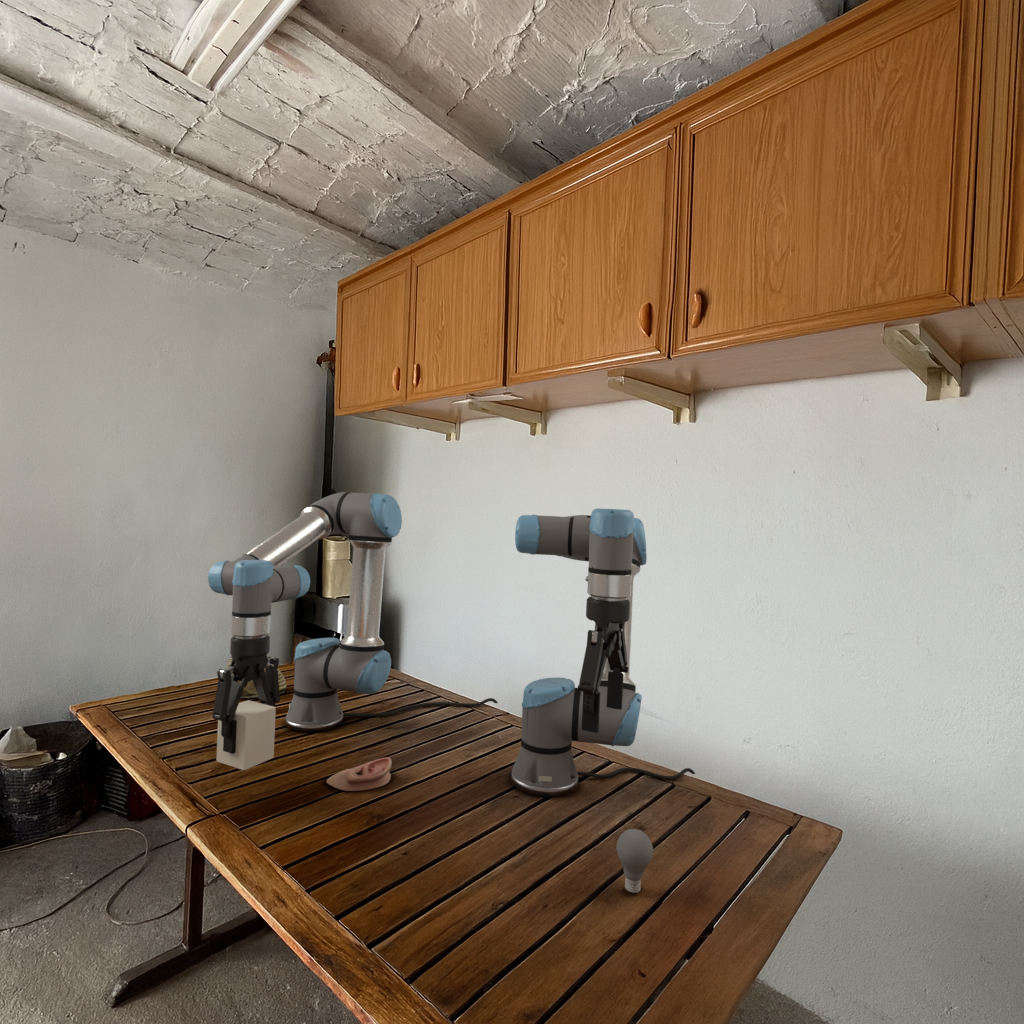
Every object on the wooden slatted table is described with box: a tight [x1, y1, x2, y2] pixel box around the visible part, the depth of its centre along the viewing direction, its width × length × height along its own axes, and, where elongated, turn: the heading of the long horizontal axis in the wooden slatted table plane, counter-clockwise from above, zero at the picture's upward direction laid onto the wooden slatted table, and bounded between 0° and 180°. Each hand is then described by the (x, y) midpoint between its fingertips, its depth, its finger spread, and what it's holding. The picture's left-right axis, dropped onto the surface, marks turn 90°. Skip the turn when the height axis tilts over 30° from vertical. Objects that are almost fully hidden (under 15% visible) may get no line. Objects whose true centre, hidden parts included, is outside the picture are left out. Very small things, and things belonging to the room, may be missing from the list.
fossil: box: [225, 654, 288, 699], centre depth 198 cm, size 9×18×15 cm, turn 132°
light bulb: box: [615, 828, 654, 894], centre depth 106 cm, size 6×6×10 cm
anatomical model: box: [326, 756, 393, 792], centre depth 142 cm, size 13×4×12 cm
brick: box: [215, 699, 277, 771], centre depth 131 cm, size 8×8×11 cm
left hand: (246, 745), depth 131 cm, fingers closed on brick, 8 cm apart
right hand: (602, 719), depth 110 cm, fingers open, 13 cm apart
